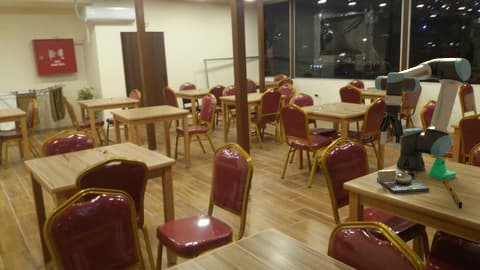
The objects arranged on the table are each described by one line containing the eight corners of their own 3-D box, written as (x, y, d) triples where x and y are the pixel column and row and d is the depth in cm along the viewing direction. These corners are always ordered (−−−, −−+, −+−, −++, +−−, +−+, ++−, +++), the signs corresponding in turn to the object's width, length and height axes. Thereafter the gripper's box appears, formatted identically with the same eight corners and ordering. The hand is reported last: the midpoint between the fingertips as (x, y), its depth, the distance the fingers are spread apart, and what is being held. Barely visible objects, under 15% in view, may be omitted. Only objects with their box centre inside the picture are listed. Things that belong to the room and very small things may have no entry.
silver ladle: (406, 177, 204) (407, 166, 203) (414, 182, 196) (415, 171, 195) (375, 180, 203) (375, 168, 202) (381, 185, 196) (381, 173, 194)
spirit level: (442, 183, 201) (442, 178, 201) (445, 183, 201) (445, 178, 200) (458, 208, 170) (458, 202, 170) (461, 209, 170) (462, 202, 169)
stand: (411, 178, 210) (411, 169, 209) (431, 191, 190) (432, 181, 189) (376, 181, 209) (376, 172, 208) (393, 194, 189) (393, 184, 188)
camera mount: (441, 181, 204) (442, 162, 202) (428, 177, 211) (429, 159, 209) (456, 177, 209) (457, 158, 207) (443, 173, 216) (444, 155, 214)
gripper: (374, 102, 203) (371, 142, 207) (398, 106, 179) (394, 151, 182) (388, 102, 204) (384, 142, 208) (413, 106, 180) (409, 152, 183)
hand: (389, 146), depth 195 cm, fingers open, 13 cm apart
